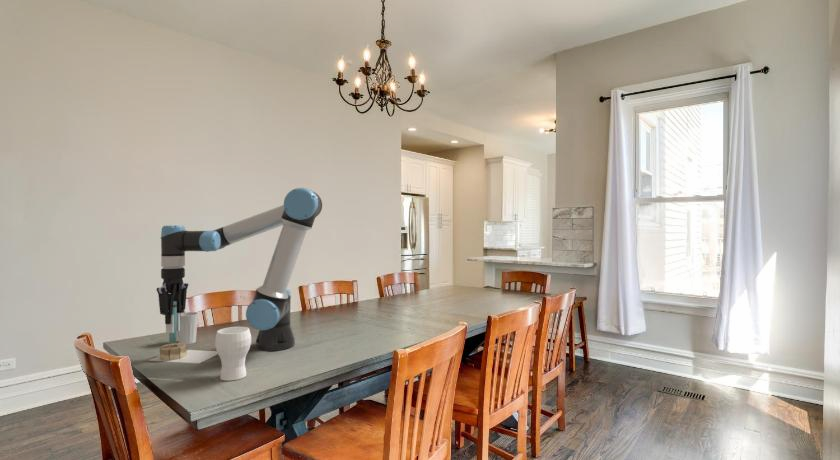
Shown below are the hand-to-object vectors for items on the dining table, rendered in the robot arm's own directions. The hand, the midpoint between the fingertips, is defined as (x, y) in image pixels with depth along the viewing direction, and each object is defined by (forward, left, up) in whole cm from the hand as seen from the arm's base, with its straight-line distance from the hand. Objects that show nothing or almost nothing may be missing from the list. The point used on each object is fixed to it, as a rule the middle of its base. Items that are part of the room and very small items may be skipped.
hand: (172, 331), depth 155 cm
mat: (-4, -2, -10) cm, 11 cm away
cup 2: (-33, +14, -10) cm, 37 cm away
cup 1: (+9, -19, -10) cm, 23 cm away
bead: (0, 0, -9) cm, 9 cm away
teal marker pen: (0, 0, -4) cm, 4 cm away
